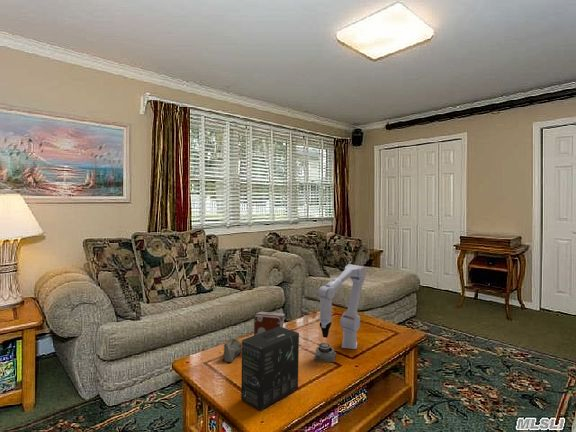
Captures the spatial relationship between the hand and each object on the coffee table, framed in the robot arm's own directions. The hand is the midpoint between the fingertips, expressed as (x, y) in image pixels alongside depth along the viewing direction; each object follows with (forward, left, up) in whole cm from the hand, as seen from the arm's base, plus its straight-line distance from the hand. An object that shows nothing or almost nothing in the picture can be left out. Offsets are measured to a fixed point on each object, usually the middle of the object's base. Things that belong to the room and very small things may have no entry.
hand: (325, 337), depth 176 cm
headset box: (+39, -17, -11) cm, 44 cm away
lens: (0, 0, -9) cm, 9 cm away
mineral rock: (+12, -44, -11) cm, 47 cm away
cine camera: (+1, -27, -10) cm, 29 cm away
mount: (0, 0, -10) cm, 10 cm away
